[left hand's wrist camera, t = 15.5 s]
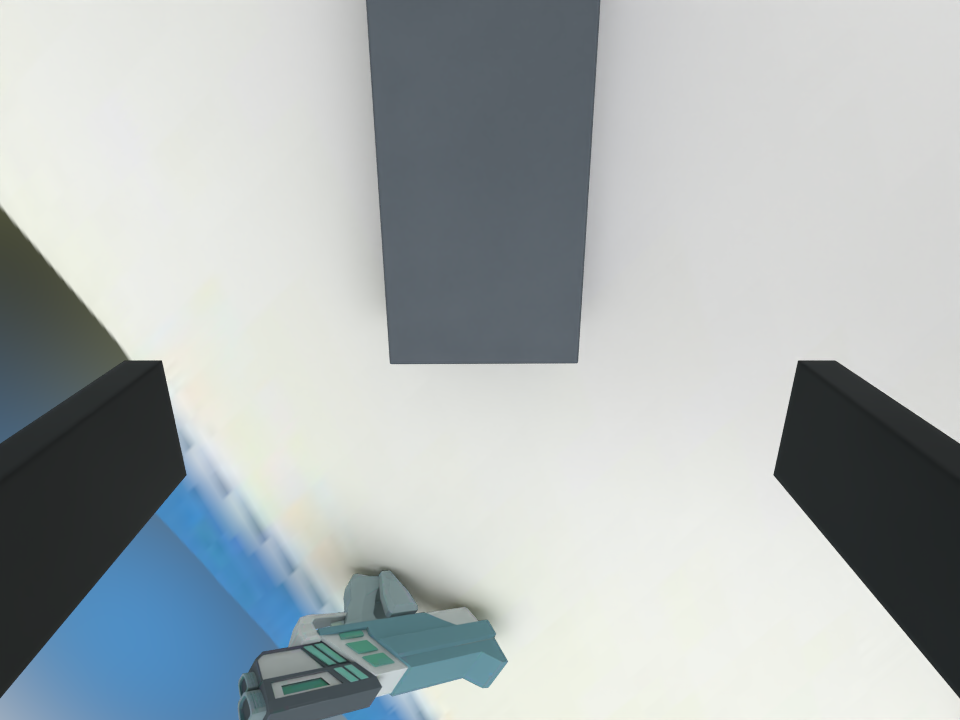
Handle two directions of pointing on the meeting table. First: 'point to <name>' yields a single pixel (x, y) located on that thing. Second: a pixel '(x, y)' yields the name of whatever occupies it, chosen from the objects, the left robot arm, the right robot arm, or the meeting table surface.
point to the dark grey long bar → (483, 175)
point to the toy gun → (367, 655)
